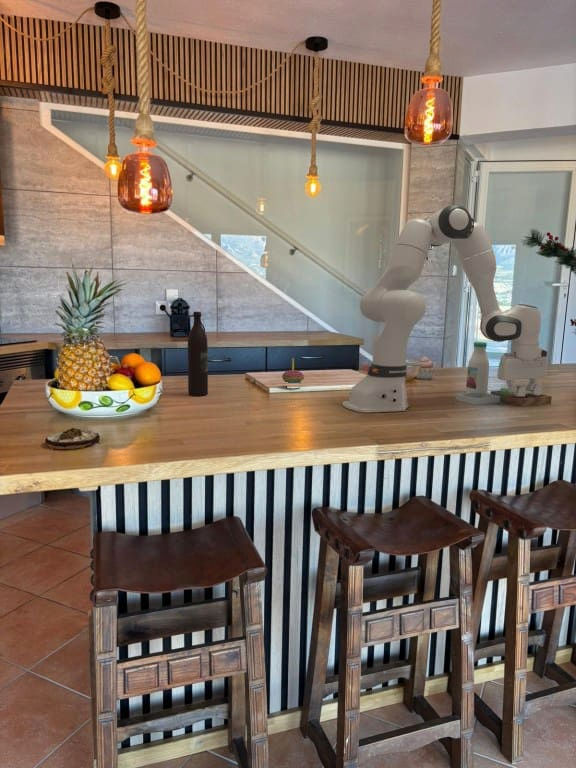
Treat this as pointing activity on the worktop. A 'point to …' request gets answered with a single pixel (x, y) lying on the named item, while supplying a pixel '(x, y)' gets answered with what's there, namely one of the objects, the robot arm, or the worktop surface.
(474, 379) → the milk bottle
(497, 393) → the console
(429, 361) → the cupcake
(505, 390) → the button
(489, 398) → the tray
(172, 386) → the worktop surface
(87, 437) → the chocolate cream tart
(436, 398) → the worktop surface
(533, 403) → the pallet
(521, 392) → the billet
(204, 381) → the wine bottle
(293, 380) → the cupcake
